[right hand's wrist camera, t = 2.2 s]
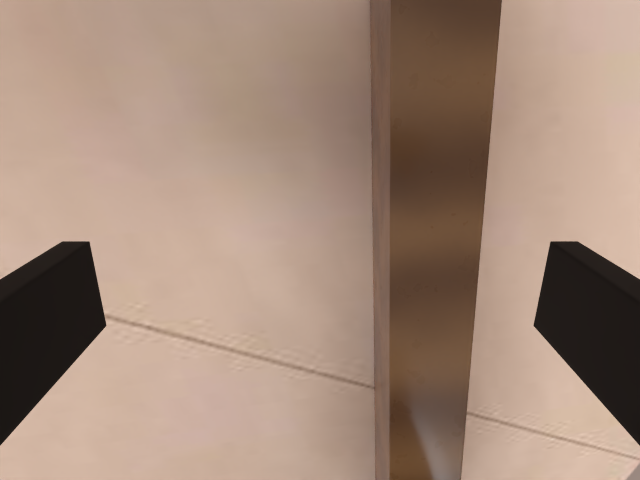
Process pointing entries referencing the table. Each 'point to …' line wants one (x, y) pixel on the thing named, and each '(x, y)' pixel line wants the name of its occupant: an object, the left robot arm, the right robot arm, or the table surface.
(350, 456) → the table surface
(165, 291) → the table surface
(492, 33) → the post
